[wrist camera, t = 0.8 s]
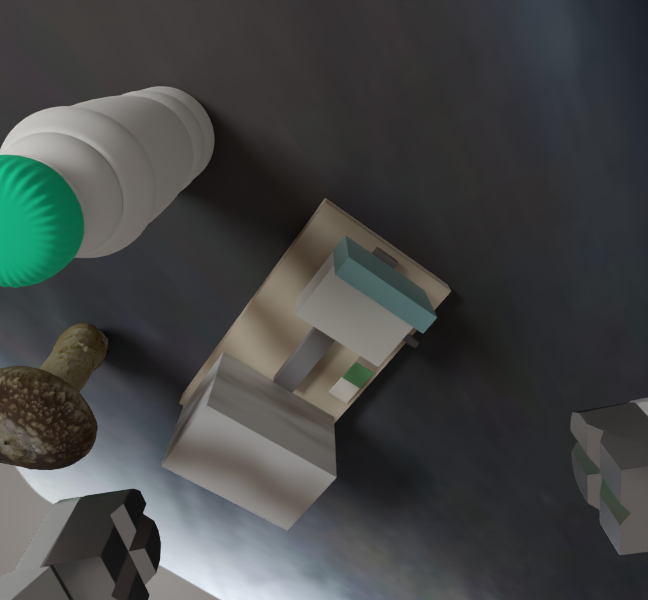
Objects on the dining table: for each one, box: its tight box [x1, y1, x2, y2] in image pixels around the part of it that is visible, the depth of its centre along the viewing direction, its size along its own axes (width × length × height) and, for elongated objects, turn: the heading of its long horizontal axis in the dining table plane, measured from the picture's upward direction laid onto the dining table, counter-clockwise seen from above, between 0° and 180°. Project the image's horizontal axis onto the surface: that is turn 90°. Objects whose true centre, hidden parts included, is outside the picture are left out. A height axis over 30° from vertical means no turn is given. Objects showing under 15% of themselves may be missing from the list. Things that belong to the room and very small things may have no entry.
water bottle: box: [0, 86, 214, 288], centre depth 30 cm, size 7×7×25 cm
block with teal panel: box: [295, 235, 437, 367], centre depth 42 cm, size 7×10×5 cm, turn 54°
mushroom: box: [0, 323, 110, 470], centre depth 42 cm, size 9×9×15 cm
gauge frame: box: [161, 198, 451, 530], centre depth 45 cm, size 23×13×10 cm, turn 144°
